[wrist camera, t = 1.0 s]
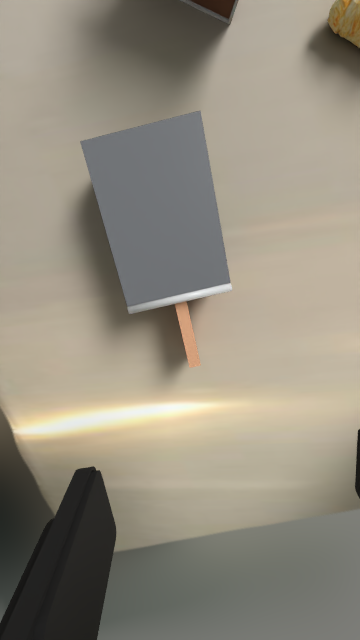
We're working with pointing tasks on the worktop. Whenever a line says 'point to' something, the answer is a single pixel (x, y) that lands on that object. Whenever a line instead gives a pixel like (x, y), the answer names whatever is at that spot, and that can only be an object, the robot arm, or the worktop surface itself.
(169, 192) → the grey rectangular block
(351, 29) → the croissant
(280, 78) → the worktop surface
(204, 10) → the food container
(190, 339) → the wooden craft stick
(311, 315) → the worktop surface
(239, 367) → the worktop surface
